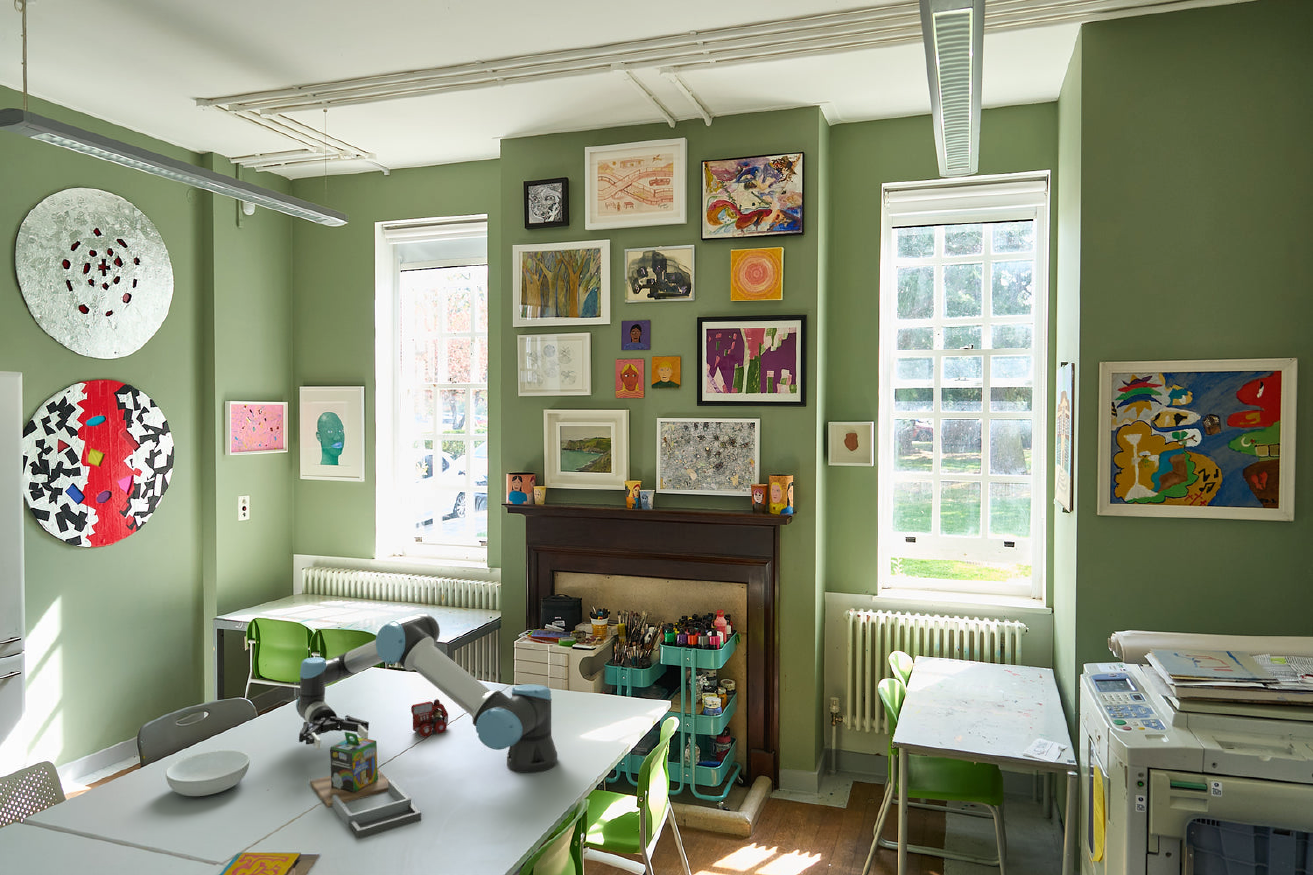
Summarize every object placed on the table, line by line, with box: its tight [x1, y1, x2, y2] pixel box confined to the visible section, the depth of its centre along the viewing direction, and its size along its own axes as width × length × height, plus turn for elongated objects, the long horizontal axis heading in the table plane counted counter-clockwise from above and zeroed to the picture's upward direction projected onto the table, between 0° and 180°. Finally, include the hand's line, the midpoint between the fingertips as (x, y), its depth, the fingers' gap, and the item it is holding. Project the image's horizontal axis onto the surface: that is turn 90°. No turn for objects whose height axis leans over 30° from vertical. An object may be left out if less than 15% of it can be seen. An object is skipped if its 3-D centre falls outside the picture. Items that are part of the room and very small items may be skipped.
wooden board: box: [309, 768, 390, 808], centre depth 234 cm, size 18×18×1 cm
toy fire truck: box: [410, 698, 449, 738], centre depth 276 cm, size 7×12×10 cm, turn 128°
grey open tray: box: [331, 779, 422, 840], centre depth 218 cm, size 22×16×3 cm
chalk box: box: [329, 731, 379, 793], centre depth 233 cm, size 9×9×15 cm
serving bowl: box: [165, 749, 251, 797], centre depth 233 cm, size 21×21×7 cm
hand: (343, 740), depth 242 cm, fingers open, 13 cm apart
